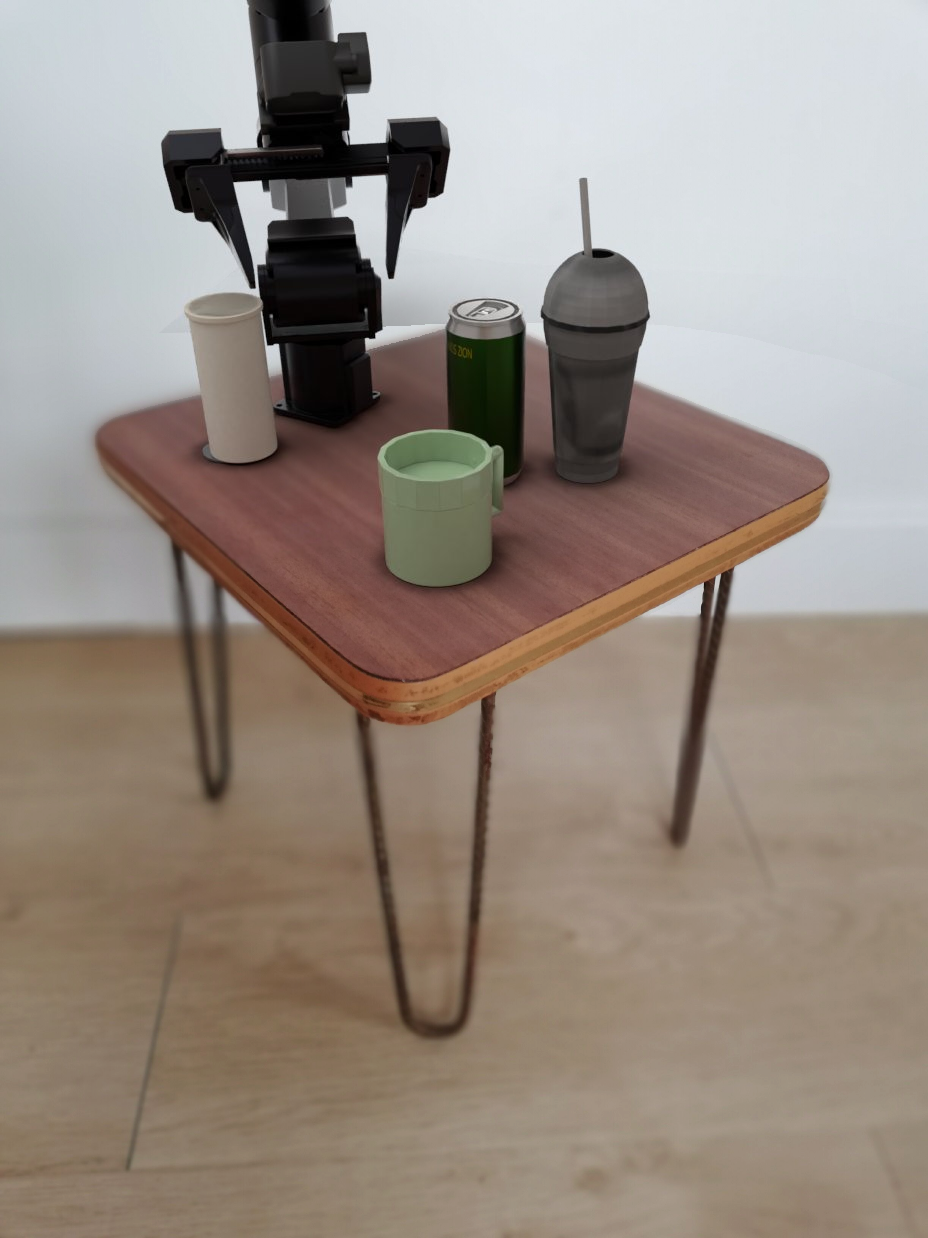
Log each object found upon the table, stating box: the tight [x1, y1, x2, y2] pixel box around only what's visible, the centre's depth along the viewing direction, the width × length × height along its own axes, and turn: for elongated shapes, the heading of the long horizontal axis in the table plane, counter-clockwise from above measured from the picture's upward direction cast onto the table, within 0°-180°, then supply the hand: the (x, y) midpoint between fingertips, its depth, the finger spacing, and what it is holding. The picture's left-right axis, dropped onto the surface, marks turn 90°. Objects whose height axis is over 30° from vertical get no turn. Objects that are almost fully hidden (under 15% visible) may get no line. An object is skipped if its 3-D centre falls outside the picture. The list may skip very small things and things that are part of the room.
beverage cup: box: [540, 177, 651, 484], centre depth 73 cm, size 7×7×20 cm
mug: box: [377, 429, 504, 588], centre depth 67 cm, size 9×7×7 cm
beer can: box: [444, 296, 527, 487], centre depth 75 cm, size 5×5×12 cm
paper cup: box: [183, 291, 278, 464], centre depth 79 cm, size 5×5×11 cm
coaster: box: [202, 443, 230, 464], centre depth 82 cm, size 4×4×1 cm
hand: (322, 280), depth 72 cm, fingers open, 9 cm apart
